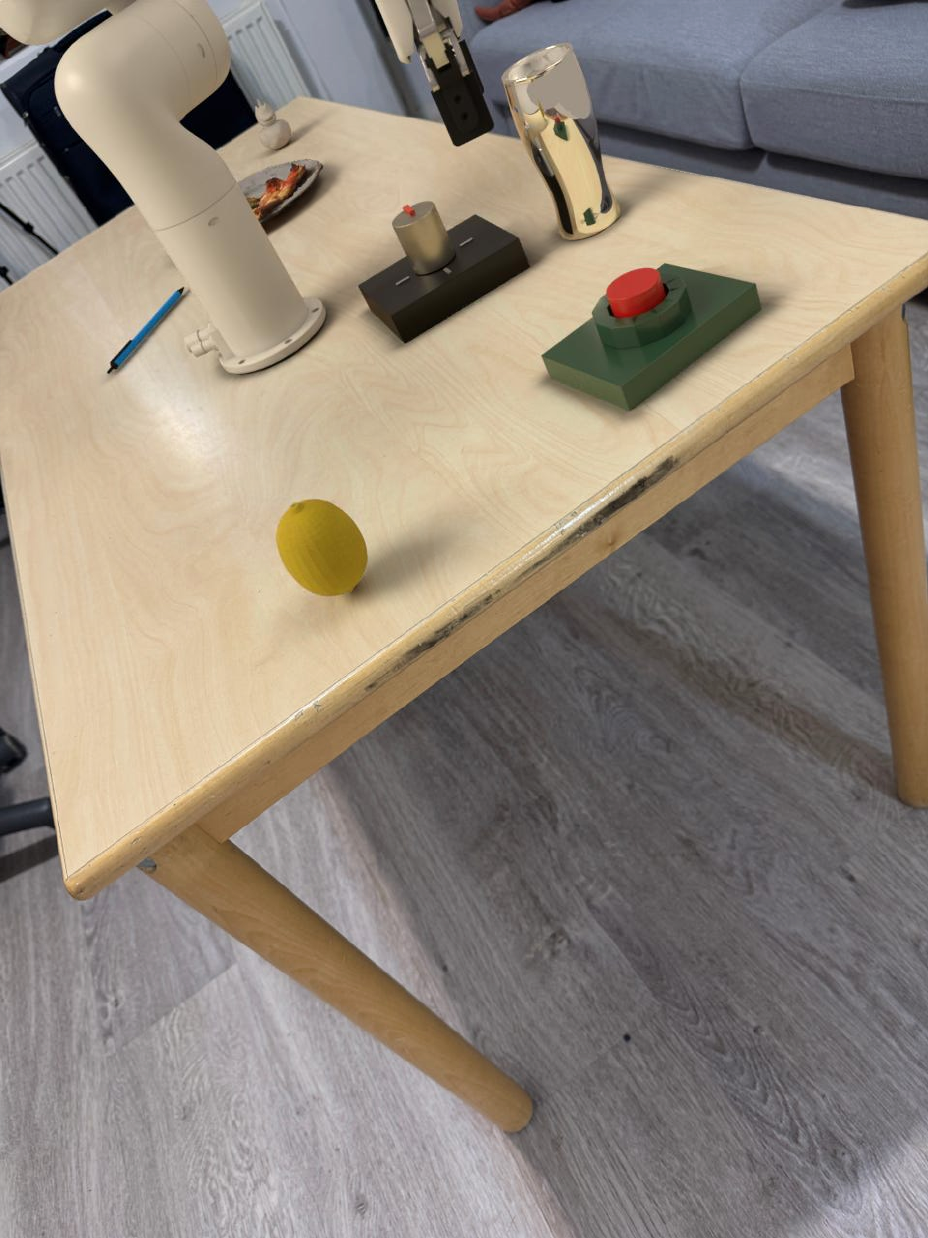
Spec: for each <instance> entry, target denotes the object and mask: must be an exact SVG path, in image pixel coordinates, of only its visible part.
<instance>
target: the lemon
mask: <svg viewBox="0 0 928 1238" xmlns="http://www.w3.org/2000/svg"><path fill="white" fill-rule="evenodd" d="M275 541H276V546H277V547H276V548H277V551H278V554H279V557H280V559H281V562H282V564H283V565H284V568H285V569H286V571H287V572H288V573H289V574H290V576H291V577H292V579H293V580H294V581H295V582H296V583H297V584H298V585H299V586H301V588H303V589H304V590H306V591H309V592H310V593H312V594H315V595H318V596H321V597H335V596H340V595H344V594H346V593H351V592H353V591H354V589H355V587H356V586H357V585H358V584H359V583H360V581H361V580H362V579H363V576H364V575H365V573H366V570H367V566H368V560H369V558H368V557H369V556H368V547H367V543H366V540H365V537H364V536H363V533H362V531H361V530H360V529H359V527H358V526H357V524H356V522H355V521H354V520H353V519H352V517H351V516H350V515H349V514H348V513H346V512H345V510H343V508H341V507H339V506H337V505H336V504H335V503H333V502H330V501H329V500H324V499H320V498H319V499H318V498H309V499H303V500H301V501H297V502H296V501H295V502H292V503H291V504H290V505H289V507H288V509H286V511H285V512H284V514H283V515H282V516H281V518H280V520H279V522H278V524H277V529H276V532H275Z"/></svg>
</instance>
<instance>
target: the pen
mask: <svg viewBox="0 0 928 1238" xmlns="http://www.w3.org/2000/svg"><path fill="white" fill-rule="evenodd" d="M184 290H185V286H182V287H180V288H179V289H177V290H176V291H174V292H173V293H172V295H171V296H170V297H169V298H168V299H167V300H166V301H165V302H164V304H163V305H162V306H161V307H160V308H159V309H158V310H157V311H156V312H155V314H154V315H153V316H152V317H151V318H150V320H148V321H147V323H146V324H145V325H144V326H143V327H142V328H141V329H140V330H139V332H138V333H137V334H136V335H135V336H134V337H133V338H132V339H129V340H128V341H127V342H126V343H125V344H124V345H123V347H122V348H120V350H119V351H118V352H117V353H116V355H115V356H114V357H113V358H112V359H111V360H110V362H109V364H110V367H109V369H108V370H107V371H106V374H108V375H111V373H112V372H113V371H114V370H115V371H116V370H118V369H119V367H120V366H121V365H122V364H123V363H124V362H125V360H126V359H127V358H128V357H129V356H130V355H131V354H132V353H133V352H134V350H135V349H136V348H137V347H138V346H139V345H140V343H141V342H142V341H144V339H145V338H146V337H147V336H148V334H149V333H150V332H151V331H152V330H153V329H154V328H155V326H156V325H157V324H158V323H159V322H160V321H161V320H162V319H163V318H164V316H165V315H166V314H167V313H168V312H169V310H171V309H172V307H173V306H174V305H175V304H176V303H177V302H178V300H179V299H180V298H181V297H182V295H183V292H184Z"/></svg>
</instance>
